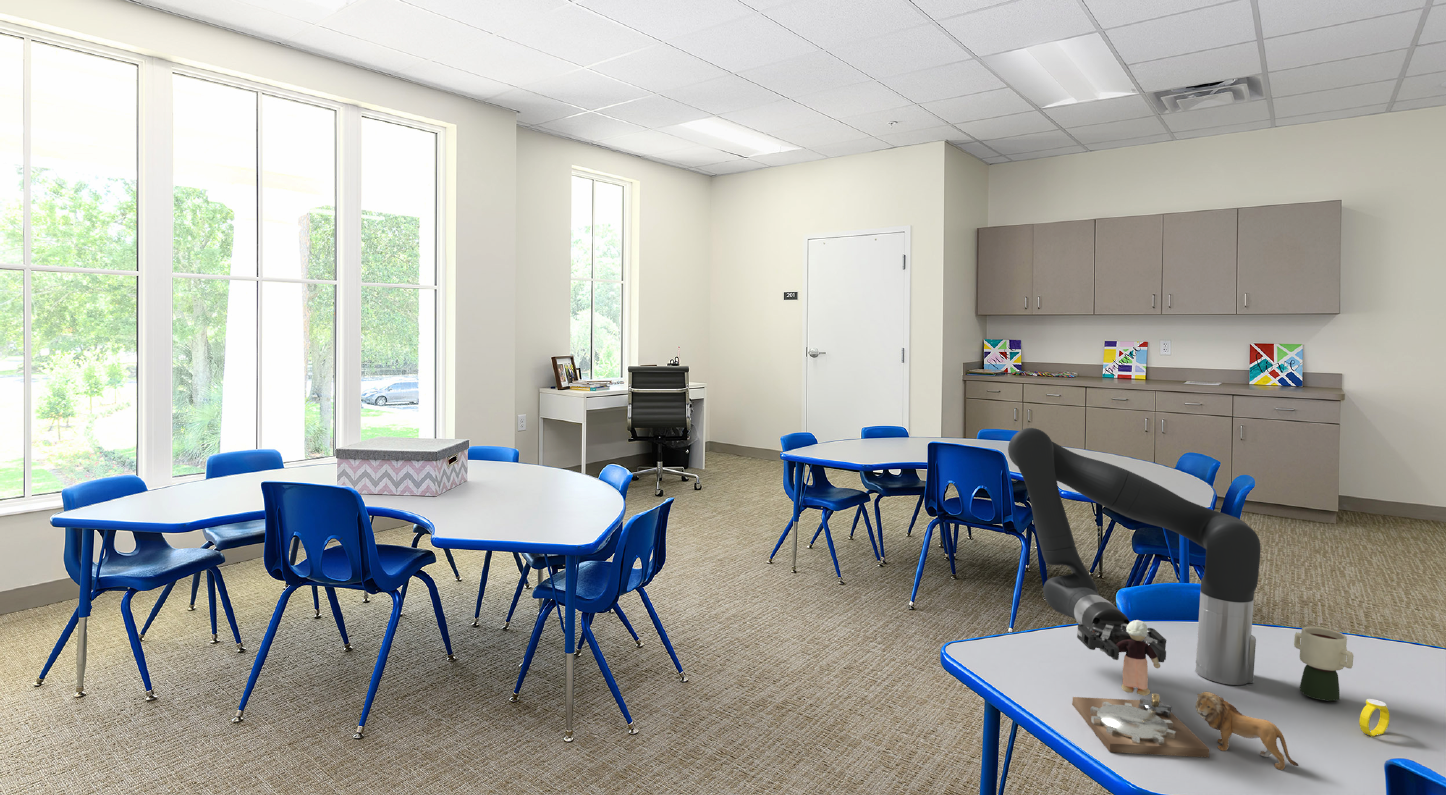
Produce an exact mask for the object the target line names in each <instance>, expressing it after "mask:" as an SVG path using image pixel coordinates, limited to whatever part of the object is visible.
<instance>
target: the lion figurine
mask: <svg viewBox="0 0 1446 795" xmlns="http://www.w3.org/2000/svg"><path fill="white" fill-rule="evenodd" d="M1195 710H1196V712H1197V714H1198V715H1199V716H1200V718H1202V720H1204V721H1206V722H1207V723H1208V725H1209V727H1210V728H1212V729H1214V730H1218V731H1219V732H1220V733H1219V734H1220V738H1218V739H1217V743H1219V745H1217V749H1219V750H1220V751H1222V752H1225V751H1228V749H1229V748H1230V744H1229V742H1230V737H1231V736H1232V734H1234V735H1236V736H1239V737H1242V738H1243V739H1245V738H1246V739H1257V738H1259V739H1260V740H1261V742H1262V744H1263V745H1264V747H1265V748H1266V751H1264V750H1261V751H1260V752H1259V755H1260V756H1262V757H1264V758H1269V757H1270V756H1271V755H1272V756H1274V757H1275V758H1276V759H1277V761H1278V762H1276V763H1274V768H1275V769H1277V770H1281V771H1282V770H1285V767H1286V762H1285V758H1286V760H1287V761H1288V762H1289V763H1290V765H1291V766H1293V767H1299V763H1297V762H1296V761H1295V760H1293V759H1292V758H1291V757H1290V754H1289V750H1288V746H1287V742H1286V739H1285V737H1284V735H1283V733H1282V731H1281V730H1280V728H1279V727H1277V725H1275V724H1274V723H1273V722H1271V721H1269V720H1268V719H1267V720H1266V719H1263V718H1255V717H1251V716H1247V715H1244V714H1243V713H1241V712H1240V711H1239V710H1238V708H1236V707H1235V706H1234V705H1233V704H1232V703H1230V702H1228V701H1227V700H1225V699H1224V697H1221V696H1219V695H1218V694H1216V693H1212V692H1211V691H1202V692H1201V693H1197V699H1196V702H1195ZM1278 738H1279V741H1280V743H1281V746H1282V750H1283V753H1284V754H1283V753H1282V752H1281V751H1280V749H1279V747H1278V742H1277V739H1278ZM1284 756H1285V757H1284Z"/></svg>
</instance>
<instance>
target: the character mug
mask: <svg viewBox="0 0 1446 795" xmlns="http://www.w3.org/2000/svg"><path fill="white" fill-rule="evenodd" d="M1347 640H1348V638H1347V636H1346V635H1345V634H1343V633H1341V632H1339V631H1336V630H1334V629H1330V628H1326V627H1319V626H1303V627H1302V628H1301V632H1295V634H1294V639H1293V641H1294V642H1293V647H1294V648H1296V649H1297V650H1299V660H1300V661H1301V662H1302V663H1303V664H1305V666H1304V668H1303V672H1302V676H1301V680H1300V685H1299V691H1300V692H1301V693H1302V694H1303V695H1304V696H1307V697H1309V698H1312V699H1316V700H1321V701H1326V700H1328V701H1340V698H1341V697H1340V695H1341V694H1340V681H1339V675H1338V673H1337V671H1342V670H1343V669H1344V668H1346V669H1352V668H1353V666H1354V653H1353V652H1351V651H1350V650H1348V648H1347V644H1348V641H1347Z"/></svg>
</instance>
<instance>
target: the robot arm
mask: <svg viewBox="0 0 1446 795" xmlns="http://www.w3.org/2000/svg"><path fill="white" fill-rule="evenodd" d="M1007 446H1008V447H1007V452H1008V457H1009V459H1010V461H1011V463H1013V464H1014V465H1015V466H1017V468H1018V470H1019V472H1020V474H1021V476H1022V478H1023V480H1024V484H1025V486H1026V490H1027V493H1028V497H1029V502H1030V505H1031V506H1030V507H1031V512H1032V516H1033V517H1032V518H1033V522H1034V528H1035V532H1036V537H1037V539H1038V543H1039V546H1040V551H1041V555H1042V557H1043V561H1044V562H1045V563H1046V565H1050V566H1066V567H1067V568H1069V570H1070V571H1071V573H1068V574H1063V575H1058V576H1054V577H1051V578H1048V579H1047V580H1046V581H1045V582H1044V585H1043V588H1042V591H1043V596H1044V599H1045V601H1046V603H1047V604H1048V606H1050V608H1052V609H1053V610H1054V611H1055V612H1057V613H1059V614H1062V615H1064V616H1067V617H1069V618H1072V619H1074V620H1075V621H1076V622H1077V623H1078V624H1077V634H1076V638H1077V639H1078V640H1079V641H1080V642H1081V643H1082V644H1083V645H1084V646H1085V647H1086V648H1087V649H1088V650H1091V651H1095V650H1096V649H1099V651H1100V652H1102V653H1103V652H1104V653H1105V654H1106V656H1107V657H1110V658H1112V660H1116V661H1117V660H1119V659H1120V658H1119V657H1120V652H1119V648H1118V647H1117V646H1116V644H1117V643H1118V642H1120V641H1122V640H1133V639H1132V638H1131V637H1130V635H1129V634H1128V632H1126V631H1127V630H1126V627H1127V625H1128V624H1129V623H1130V622H1131V621H1130V620H1129V618H1128V617H1127V615H1126V614H1125V613H1124V612H1123V611H1122V610H1120V609H1119V608H1118V607H1116V606H1115V604H1113V603H1112V602H1111V601H1109V600H1108V599H1106V598H1104V597H1102V595H1101V594H1099V591H1098V587H1097V584H1096V582H1095V581H1094V579H1093V577H1092V576H1091V574H1090V573H1089V571H1088V570H1087V568H1086V566H1085V565H1084V562H1083V561H1082V559H1081V557H1080V555H1079V552H1078V550H1077V546H1076V543H1075V542H1076V541H1075V539H1074V537H1073V532H1072V529H1071V526H1070V523H1069V520H1068V516H1067V512H1066V510H1065V507H1064V504H1063V501H1062V498H1061V493H1060V489H1059V485H1058V482H1059V483H1061V484H1063V485H1065V486H1067V487H1069V488H1070V489H1072V490H1074V491H1075V492H1077V493H1079V494H1081V495H1082V496H1084V497H1086V498H1088V499H1090V500H1091V501H1093V502H1095V503H1096V504H1099V505H1101V506H1102V507H1105V508H1107V509H1109V510H1111V511H1113V512H1115V513H1118V514H1120V515H1122V516H1124V517H1126V518H1128V519H1132V520H1135V521H1137V522H1140V523H1143V524H1148V525H1151V526H1156V527H1159V528H1163V529H1166V530H1169V531H1172V532H1174V533H1176V534H1178V535H1180V536H1182V537H1184V538H1186V539H1188V540H1190V541H1191V542H1193V543H1195V544H1197V545H1198V546H1200V547H1202V548H1203V549H1205V564H1204V571H1203V572H1204V573H1203V577H1202V578H1201V579H1200V591H1199V593H1200V594H1199V609H1198V625H1197V641H1196V658H1195V659H1196V660H1195V672H1196V673H1197V674H1198V675H1199V676H1201V677H1202V678H1204V679H1206V680H1209V681H1213V682H1215V683H1220V684H1224V685H1229V686H1243V685H1246V684H1248V683H1254V674H1255V661H1256V660H1255V659H1256V646H1257V644H1256V643H1257V638H1256V636H1254V635H1252V634H1253V633H1252V632H1253V630H1252V629H1253V616H1254V601H1255V591H1256V589H1257V587H1258V582H1259V573H1260V565H1261V564H1260V562H1261V552H1262V551H1261V540H1260V538H1259V536H1258V534H1257V533H1256V532H1255V531H1254V530H1253V528H1252V527H1250V526H1249V525H1248V524H1247V523H1246V522H1245V521H1243V520H1242V519H1239V517H1236V516H1233V515H1230V514H1227V513H1224V512H1220V511H1218V510H1214V509H1211V508H1208V507H1206V506H1203V505H1200V504H1197V503H1195V502H1191V501H1190V500H1187V499H1186V498H1184V497H1181V496H1180V495H1178V494H1177V493H1175V492H1173V491H1171V490H1169V489H1168V488H1165V487H1164V486H1162V485H1159V484H1158V483H1155V482H1154V481H1152V480H1149V479H1148V478H1146V477H1144V476H1141V475H1139V474H1136V473H1135V472H1132V471H1130V470H1128V469H1125V468H1123V467H1119V466H1117V465H1114V464H1111V463H1108V462H1105V461H1102V460H1099V459H1094V458H1090V457H1087V456H1084V455H1081V454H1079V453H1075V452H1073V451H1071V450H1069V449H1068V448H1066V447H1063V446H1061V445H1059V444H1058V443H1055V442H1054V441H1052V439H1051V438H1050V436H1049V435H1048V434H1047V433H1046V432H1045V431H1043V430H1041V429H1039V428H1036V427H1035V428H1034V427H1027V428H1023V429H1021V430H1018V431H1017V432H1016V433H1015V434H1014V435H1013V436H1012V438H1011V439H1010V440H1009V443H1008V445H1007ZM1147 631H1148V632H1147V636H1145V638H1144V639H1143V640H1142V642H1145V643H1147V644H1148V645H1150V646H1151V648H1152V649H1153V650H1154V652H1155V653H1156V655H1157V658H1158V661H1159V663H1165V661H1166V658H1167V650H1166V648H1167V647H1166V646H1167V638H1165V637H1164V636H1162V635H1161V633H1159V632H1158V631H1157V630H1156V629H1155V628H1152V627H1147Z"/></svg>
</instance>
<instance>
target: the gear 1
mask: <svg viewBox="0 0 1446 795" xmlns="http://www.w3.org/2000/svg"><path fill="white" fill-rule="evenodd" d="M1090 714H1093V715H1096V716H1091V722H1092V723H1093V724H1095V725H1102V726H1103V727H1104V728H1106V733H1107V734H1109V735H1111V736H1113V735H1116V734H1117V735H1120V736H1123V737H1126V738H1130V739H1131V740H1132V742H1133V743H1138V744H1139V742H1140V741H1154V742H1155V743H1157V744H1158V745H1161V744H1164V738H1165V737H1168V738H1171V739H1175V735H1176V731H1173V730H1170V729H1168V728H1172V729H1173V723H1172V722H1171V721H1170V720H1162V719H1161V718H1160V717H1158V716H1157V715H1156V711H1154V710H1152V711H1151V709H1149V710H1147V711H1146V710H1143V709H1140V708H1136V707H1132V704H1130V703H1125V705H1112V704H1110V703H1109V702H1102V707H1101V708H1097V707H1093V706H1092V707H1091V708H1090Z"/></svg>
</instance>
